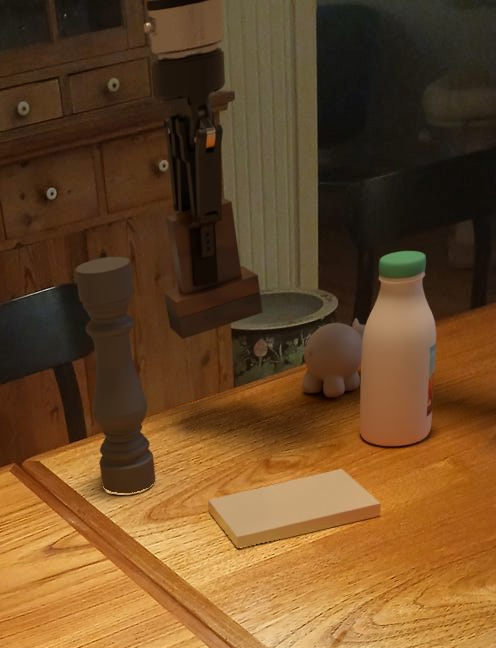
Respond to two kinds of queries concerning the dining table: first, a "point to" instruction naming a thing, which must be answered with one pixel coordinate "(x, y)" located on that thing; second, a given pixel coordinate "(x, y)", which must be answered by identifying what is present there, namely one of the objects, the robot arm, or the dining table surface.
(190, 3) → the robot arm
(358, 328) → the round bodied animal figurine
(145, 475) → the candle holder
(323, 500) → the tile
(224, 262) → the stepped wooden block
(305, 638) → the dining table surface
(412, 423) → the milk bottle
